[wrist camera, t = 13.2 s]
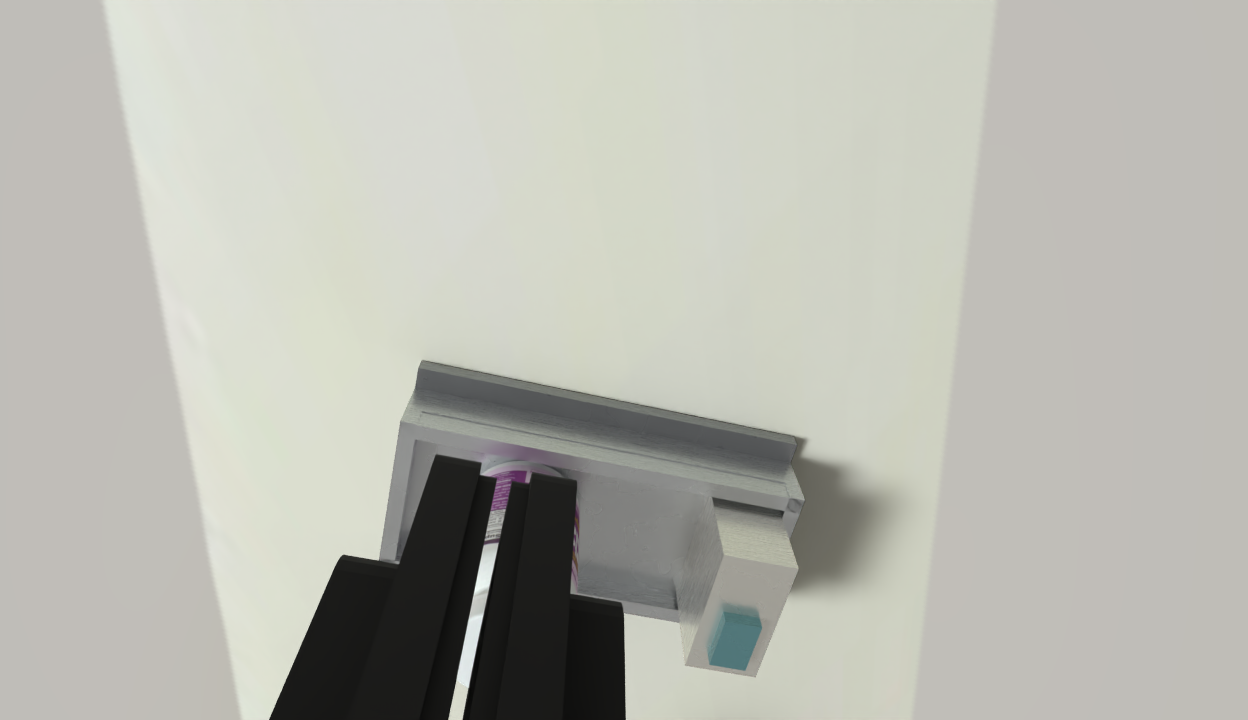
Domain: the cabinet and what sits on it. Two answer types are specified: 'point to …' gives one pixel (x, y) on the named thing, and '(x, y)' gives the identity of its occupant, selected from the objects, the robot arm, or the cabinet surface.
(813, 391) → the cabinet surface
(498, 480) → the pill bottle
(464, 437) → the grey tray
